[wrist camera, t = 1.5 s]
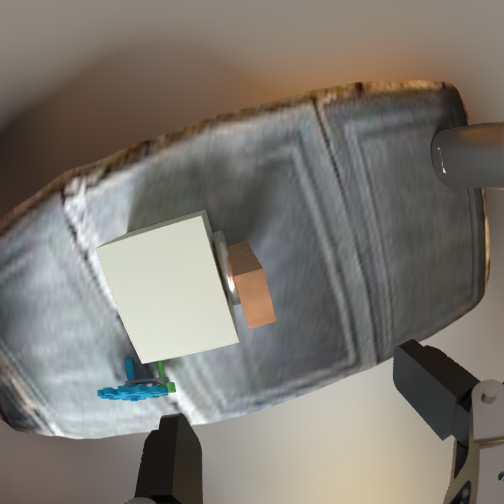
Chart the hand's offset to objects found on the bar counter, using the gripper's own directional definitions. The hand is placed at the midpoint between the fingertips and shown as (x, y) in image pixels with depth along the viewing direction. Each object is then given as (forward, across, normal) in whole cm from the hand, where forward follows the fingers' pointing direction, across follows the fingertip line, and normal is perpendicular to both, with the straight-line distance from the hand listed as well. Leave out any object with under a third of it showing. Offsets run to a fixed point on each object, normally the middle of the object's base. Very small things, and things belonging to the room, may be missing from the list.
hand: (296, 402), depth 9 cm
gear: (+26, +18, +14) cm, 34 cm away
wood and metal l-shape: (+24, +4, 0) cm, 24 cm away
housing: (+25, +7, 0) cm, 26 cm away
